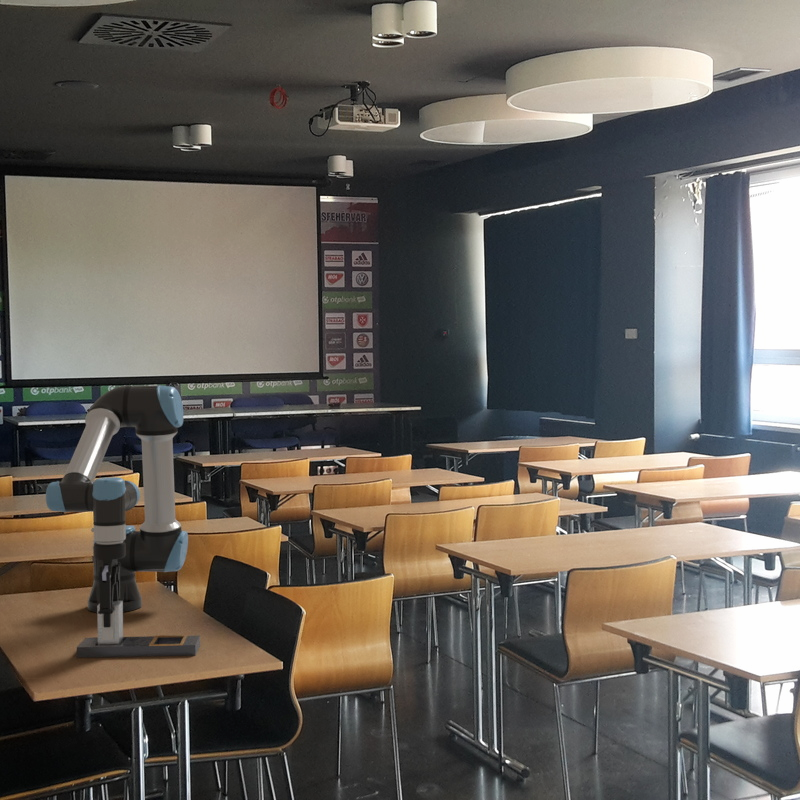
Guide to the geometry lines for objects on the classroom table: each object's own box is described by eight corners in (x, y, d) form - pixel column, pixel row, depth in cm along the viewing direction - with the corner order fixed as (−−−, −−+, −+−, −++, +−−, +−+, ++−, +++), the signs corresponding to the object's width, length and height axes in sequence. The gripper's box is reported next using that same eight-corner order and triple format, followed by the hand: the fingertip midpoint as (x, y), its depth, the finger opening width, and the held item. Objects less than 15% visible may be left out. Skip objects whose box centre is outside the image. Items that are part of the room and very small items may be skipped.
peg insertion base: (85, 647, 255) (85, 636, 255) (200, 645, 257) (200, 634, 257) (76, 657, 246) (76, 646, 246) (195, 655, 248) (195, 644, 248)
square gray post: (102, 649, 254) (101, 601, 253) (123, 649, 254) (122, 600, 254) (97, 655, 249) (97, 605, 248) (119, 654, 249) (118, 605, 249)
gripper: (102, 535, 259) (102, 628, 260) (85, 548, 241) (86, 647, 242) (132, 535, 260) (133, 627, 260) (117, 547, 242) (118, 646, 243)
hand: (110, 636), depth 251 cm, fingers closed on square gray post, 5 cm apart
